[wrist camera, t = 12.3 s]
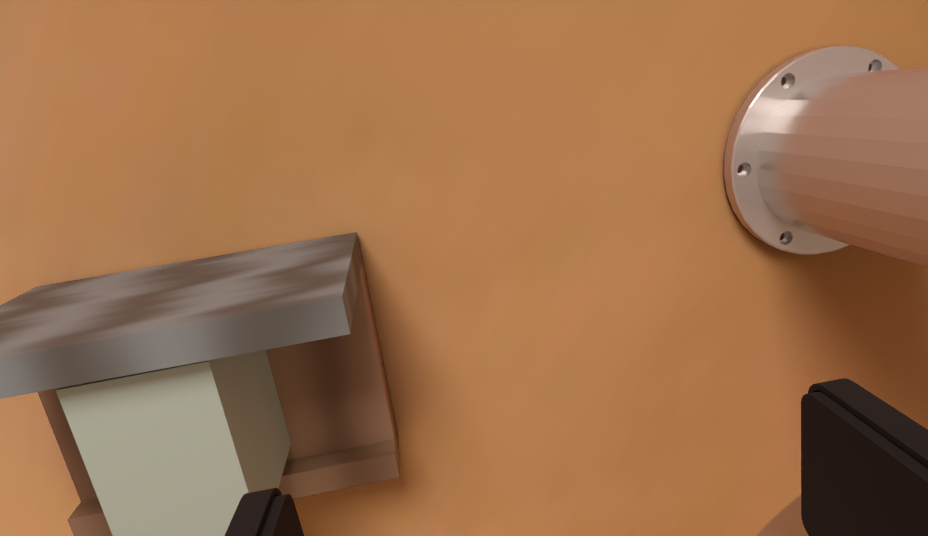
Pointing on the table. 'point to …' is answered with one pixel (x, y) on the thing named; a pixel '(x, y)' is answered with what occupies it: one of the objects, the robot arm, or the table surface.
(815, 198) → the robot arm
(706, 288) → the table surface
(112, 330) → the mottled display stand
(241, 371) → the mini block
